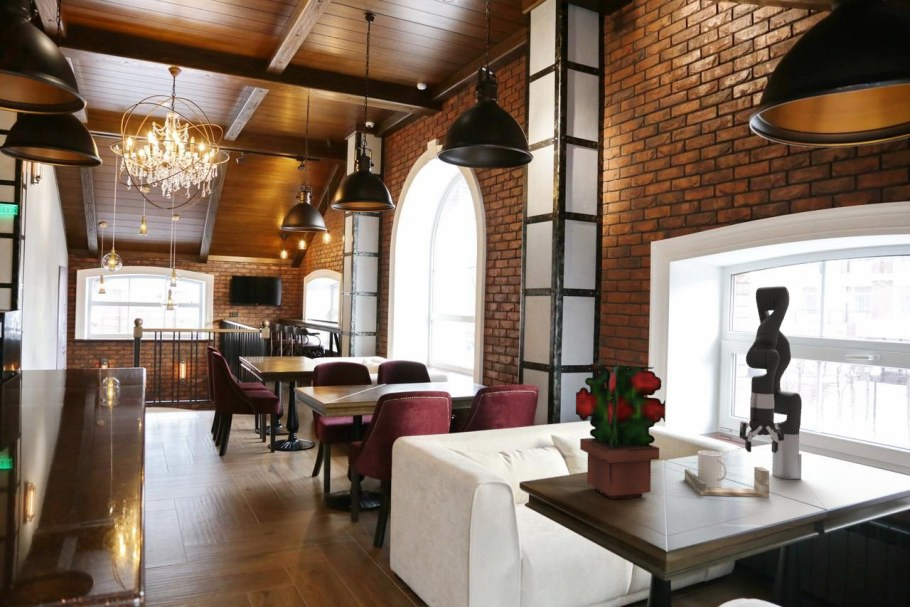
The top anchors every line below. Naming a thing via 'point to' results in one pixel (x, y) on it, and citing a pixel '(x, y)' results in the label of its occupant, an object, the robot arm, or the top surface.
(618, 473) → the potted plant
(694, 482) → the bracket
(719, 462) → the mug
